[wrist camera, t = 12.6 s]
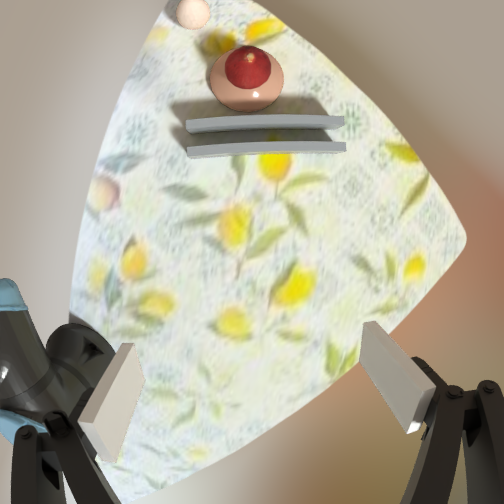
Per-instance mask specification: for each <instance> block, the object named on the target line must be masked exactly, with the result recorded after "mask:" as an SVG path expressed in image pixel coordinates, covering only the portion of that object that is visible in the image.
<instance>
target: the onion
mask: <svg viewBox="0 0 504 504" xmlns="http://www.w3.org/2000/svg"><path fill="white" fill-rule="evenodd" d="M225 74H226V76H227V79H228V81H229V82H230V83H232V84H233V85H234V86H235V87H238V88H241V89H254V88H258V87H260V86H261V85H262V84H264V83H265V82H266V81H267V80H268V79H269V77H270V75H271V62H270V59H269V57H268V55H267V54H266V53H265V52H264V51H263V50H261V49H259V48H256V47H252V46H243V47H241V48H238V49H236V50H234V51H233V52H232V53H231V54H230V55H229V56H228V58H227V60H226V62H225Z"/></svg>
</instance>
